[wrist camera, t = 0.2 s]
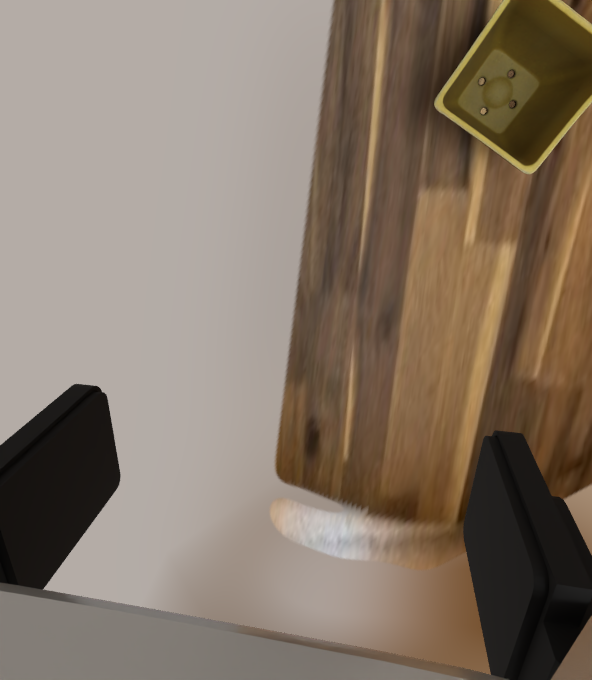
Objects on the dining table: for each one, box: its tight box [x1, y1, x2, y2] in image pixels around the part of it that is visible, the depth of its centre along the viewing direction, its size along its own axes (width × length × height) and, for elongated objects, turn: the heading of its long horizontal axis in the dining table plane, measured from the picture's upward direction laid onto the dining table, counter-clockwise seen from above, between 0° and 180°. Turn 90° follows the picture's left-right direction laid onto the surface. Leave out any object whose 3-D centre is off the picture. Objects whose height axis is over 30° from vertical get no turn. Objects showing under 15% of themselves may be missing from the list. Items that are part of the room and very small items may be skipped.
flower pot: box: [434, 0, 592, 174], centre depth 35 cm, size 9×9×9 cm
